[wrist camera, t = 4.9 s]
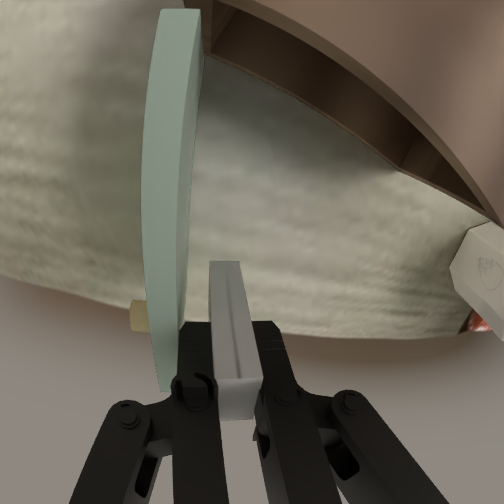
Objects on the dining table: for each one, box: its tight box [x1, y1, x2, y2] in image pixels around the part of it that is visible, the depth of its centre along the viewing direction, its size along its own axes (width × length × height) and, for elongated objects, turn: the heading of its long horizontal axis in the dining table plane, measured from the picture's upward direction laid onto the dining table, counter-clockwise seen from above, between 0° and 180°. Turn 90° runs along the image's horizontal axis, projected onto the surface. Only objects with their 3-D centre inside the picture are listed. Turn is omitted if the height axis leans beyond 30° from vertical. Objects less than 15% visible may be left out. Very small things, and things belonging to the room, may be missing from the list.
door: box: [129, 9, 204, 392], centre depth 12 cm, size 14×3×9 cm, turn 172°
